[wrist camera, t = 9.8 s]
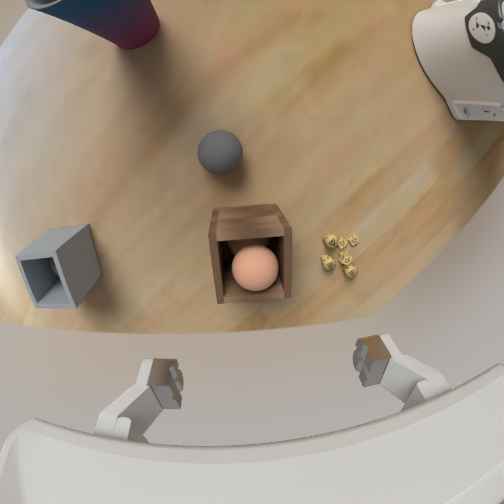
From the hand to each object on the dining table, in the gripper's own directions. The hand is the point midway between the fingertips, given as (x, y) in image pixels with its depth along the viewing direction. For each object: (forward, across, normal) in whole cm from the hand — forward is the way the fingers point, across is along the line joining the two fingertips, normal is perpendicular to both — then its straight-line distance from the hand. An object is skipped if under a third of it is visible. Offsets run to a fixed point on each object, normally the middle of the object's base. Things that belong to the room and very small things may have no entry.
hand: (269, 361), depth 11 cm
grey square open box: (+19, +21, +1) cm, 28 cm away
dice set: (+20, -10, +4) cm, 22 cm away
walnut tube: (+19, 0, +2) cm, 19 cm away
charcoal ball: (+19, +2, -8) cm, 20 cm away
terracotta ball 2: (+14, 0, 0) cm, 14 cm away
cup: (+19, +10, -23) cm, 31 cm away
